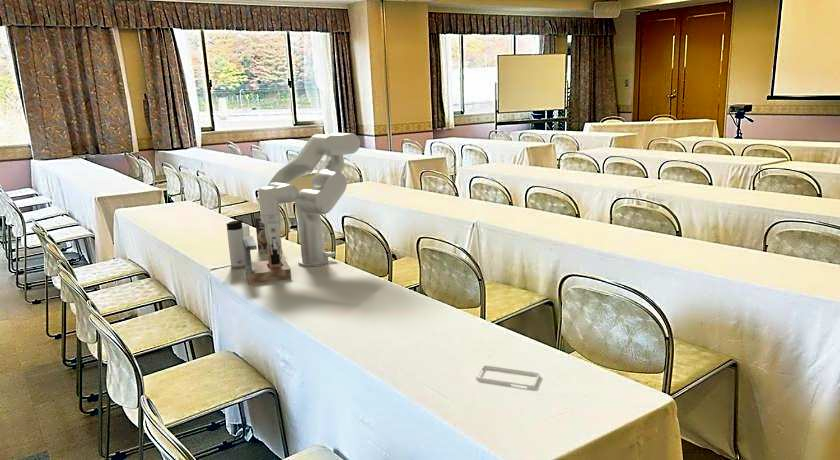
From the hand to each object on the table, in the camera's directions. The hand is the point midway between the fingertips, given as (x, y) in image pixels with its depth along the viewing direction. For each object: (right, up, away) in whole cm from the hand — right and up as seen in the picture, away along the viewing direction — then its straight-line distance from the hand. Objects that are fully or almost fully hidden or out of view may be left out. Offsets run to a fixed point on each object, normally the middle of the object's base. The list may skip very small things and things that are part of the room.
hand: (274, 261), depth 247 cm
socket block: (-3, -6, 0) cm, 6 cm away
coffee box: (-10, +3, +36) cm, 37 cm away
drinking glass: (-19, 0, +26) cm, 32 cm away
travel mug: (-18, -3, +14) cm, 23 cm away
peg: (0, -5, +1) cm, 6 cm away
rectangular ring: (+81, -26, -90) cm, 123 cm away
